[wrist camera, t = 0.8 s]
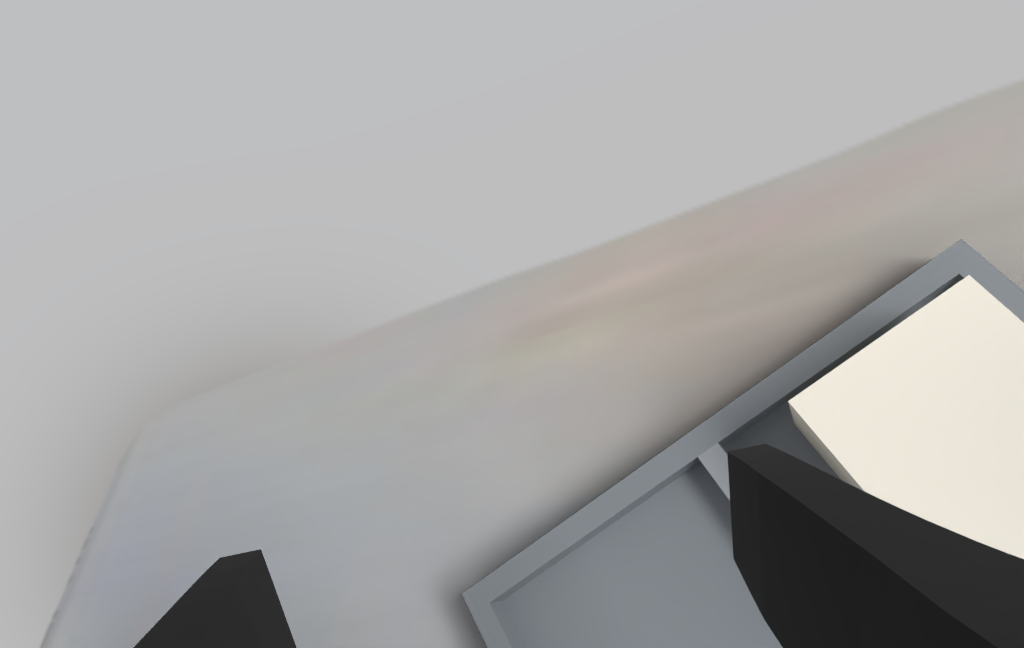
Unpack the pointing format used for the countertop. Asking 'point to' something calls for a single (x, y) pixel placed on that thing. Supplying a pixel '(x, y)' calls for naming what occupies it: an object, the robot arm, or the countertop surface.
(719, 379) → the countertop surface
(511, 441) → the countertop surface
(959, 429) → the plain cream box
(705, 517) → the tray
